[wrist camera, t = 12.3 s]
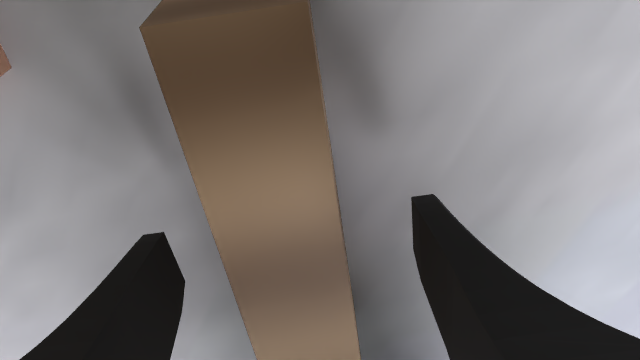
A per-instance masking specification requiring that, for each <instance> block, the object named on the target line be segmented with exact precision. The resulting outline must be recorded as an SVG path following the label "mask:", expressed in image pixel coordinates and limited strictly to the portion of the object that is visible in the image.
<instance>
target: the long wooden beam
mask: <svg viewBox="0 0 640 360" xmlns="http://www.w3.org/2000/svg"><path fill="white" fill-rule="evenodd" d="M139 28H140V31H141V33H142V36H143V39H144V42H145V45H146V48H147V50H148V53H149V56H150V59H151V62H152V65H153V67H154V70H155V73H156V76H157V79H158V81H159V84H160V87H161V90H162V93H163V96H164V98H165V101H166V104H167V107H168V110H169V113H170V115H171V118H172V121H173V124H174V127H175V129H176V132H177V135H178V138H179V141H180V144H181V146H182V149H183V152H184V155H185V158H186V160H187V163H188V166H189V169H190V172H191V175H192V177H193V180H194V183H195V186H196V189H197V192H198V194H199V197H200V200H201V203H202V206H203V208H204V211H205V214H206V217H207V220H208V223H209V225H210V228H211V231H212V234H213V237H214V240H215V242H216V245H217V248H218V251H219V254H220V256H221V259H222V262H223V265H224V268H225V271H226V273H227V276H228V279H229V282H230V285H231V288H232V290H233V293H234V296H235V299H236V302H237V304H238V307H239V310H240V313H241V316H242V319H243V321H244V324H245V327H246V330H247V333H248V335H249V338H250V341H251V344H252V347H253V350H254V352H255V355H256V358H257V360H361V355H360V348H359V340H358V333H357V325H356V318H355V310H354V303H353V297H352V290H351V283H350V276H349V269H348V262H347V255H346V248H345V241H344V234H343V227H342V220H341V214H340V207H339V200H338V193H337V186H336V179H335V172H334V165H333V158H332V151H331V144H330V137H329V131H328V124H327V117H326V110H325V103H324V96H323V89H322V82H321V75H320V68H319V61H318V55H317V48H316V41H315V34H314V27H313V20H312V13H311V6H310V0H162V1H161V2H160V4H159V5H158V6H157V7H156V8H155V9H154V11H153V12H152V13H151V14H150V15H149V17H148V18H147V19H146V20H145V21H144V22H143V24H142V25H141V26H140V27H139Z"/></svg>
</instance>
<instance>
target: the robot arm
mask: <svg viewBox="0 0 640 360" xmlns="http://www.w3.org/2000/svg"><path fill="white" fill-rule="evenodd" d="M411 199H412V224H413V250H414V254H415V258H416V262H417V267H418V271H419V275H420V279H421V282H422V285H423V288H424V290H425V293H426V296H427V298H428V301H429V304H430V306H431V309H432V312H433V314H434V317H435V320H436V322H437V325H438V328H439V330H440V333H441V335H442V338H443V341H444V343H445V346H446V349H447V352H448V355H449V358H450V360H640V339H639V338H636V337H634V336H632V335H629V334H627V333H625V332H622V331H620V330H618V329H615V328H613V327H611V326H609V325H606V324H604V323H602V322H600V321H598V320H596V319H594V318H592V317H590V316H588V315H586V314H584V313H582V312H580V311H578V310H577V309H575V308H573V307H571V306H569V305H567V304H566V303H564V302H562V301H561V300H559V299H557V298H556V297H554V296H552V295H551V294H549V293H547V292H545V291H544V290H542V289H541V288H539V287H537V286H536V285H534V284H533V283H531V282H530V281H528V280H527V279H526V278H524V277H523V276H521V275H520V274H519V273H517V272H516V271H515V270H513V269H512V268H511V267H509V266H508V265H507V264H506V263H504V262H503V261H502V260H500V259H499V258H498V257H497V256H496V255H495V254H493V253H492V252H491V251H490V250H489V249H487V248H486V247H485V246H484V245H483V244H482V243H481V242H480V241H479V240H478V239H476V238H475V237H474V236H473V235H472V234H471V233H470V232H469V231H468V230H467V229H466V228H465V227H464V226H463V225H462V224H461V223H460V222H459V221H458V220H457V219H456V218H455V217H454V216H453V215H452V214H451V213H450V211H449V210H448V209H447V208H446V207H445V206H444V205H443V204H442V202H441V201H440V200H439V199H438V198H437V197H436V196H435V195H434V194H430V195H423V196H416V197H411ZM184 287H185V280H184V277H183V275H182V273H181V271H180V268H179V266H178V264H177V261H176V259H175V257H174V255H173V252H172V250H171V248H170V245H169V243H168V241H167V238H166V236H165V234H164V232H161V233H154V234H147V235H143V236H142V237H141V238H140V239H139V240H138V241H137V242H136V243H135V245H134V246H133V247H132V248H131V249H130V250H129V252H128V253H127V254H126V255H125V256H124V257H123V258H122V260H121V261H120V262H119V263H118V264H117V265H116V267H115V268H114V269H113V270H112V271H111V272H110V273H109V275H108V276H107V277H106V278H105V279H104V280H103V281H102V282H101V284H100V285H99V286H98V287H97V288H96V289H95V290H94V291H93V292H92V293H91V294H90V295H89V296H88V297H87V298H86V300H85V301H84V302H83V303H82V304H81V305H80V306H79V307H78V308H77V309H76V310H75V311H74V312H73V313H72V314H71V315H70V316H69V317H68V318H67V319H66V320H65V321H64V322H63V323H62V324H61V325H60V326H59V327H57V328H56V329H55V330H54V331H53V332H52V333H51V334H50V335H49V336H47V337H46V338H45V339H44V340H43V341H42V342H41V343H39V344H38V345H37V346H36V347H35V348H34V349H32V350H31V351H30V352H29V353H27V354H26V355H25V356H23V357H22V358H21V359H20V360H170V357H171V353H172V350H173V346H174V342H175V338H176V334H177V330H178V326H179V322H180V318H181V313H182V306H183V297H184Z"/></svg>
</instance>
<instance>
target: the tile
mask: <svg viewBox="0 0 640 360" xmlns="http://www.w3.org/2000/svg"><path fill="white" fill-rule="evenodd" d="M9 69H11V66H10V63H9V61H8V59H7V57H6V55H5V52H4V50H3V48H2V46H1V44H0V77H1V76H2V75H3V74H4V73H6V72H7V71H8V70H9Z"/></svg>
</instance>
